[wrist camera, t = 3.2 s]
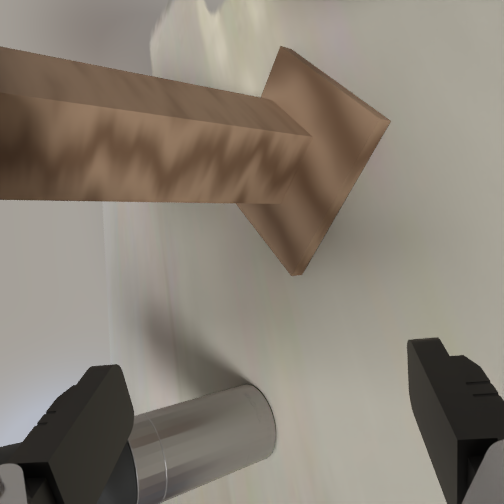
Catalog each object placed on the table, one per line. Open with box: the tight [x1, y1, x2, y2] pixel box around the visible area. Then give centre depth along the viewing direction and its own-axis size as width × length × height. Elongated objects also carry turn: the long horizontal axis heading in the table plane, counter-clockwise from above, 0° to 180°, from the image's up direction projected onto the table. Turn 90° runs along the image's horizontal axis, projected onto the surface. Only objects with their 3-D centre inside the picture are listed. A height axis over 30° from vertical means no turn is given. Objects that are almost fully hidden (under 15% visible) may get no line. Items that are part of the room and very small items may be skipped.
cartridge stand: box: [0, 46, 391, 276], centre depth 37 cm, size 18×16×33 cm
